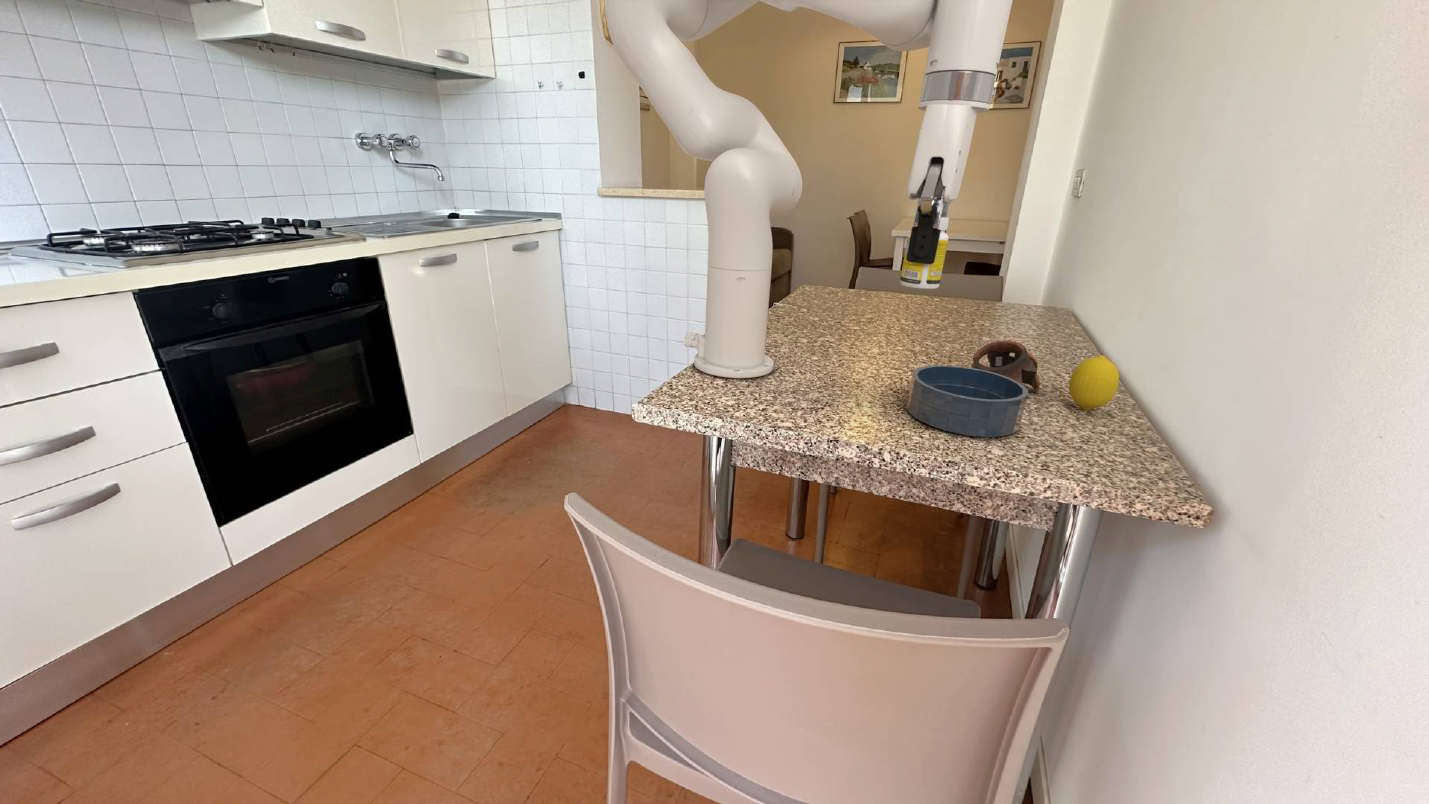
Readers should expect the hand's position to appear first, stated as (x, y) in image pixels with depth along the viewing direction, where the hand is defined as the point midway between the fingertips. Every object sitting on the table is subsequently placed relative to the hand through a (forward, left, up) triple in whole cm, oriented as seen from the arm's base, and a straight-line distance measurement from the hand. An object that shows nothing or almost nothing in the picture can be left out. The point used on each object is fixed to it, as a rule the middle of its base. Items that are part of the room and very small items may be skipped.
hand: (923, 258), depth 71 cm
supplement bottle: (0, 0, -4) cm, 4 cm away
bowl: (+8, 0, -19) cm, 21 cm away
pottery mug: (+12, +17, -20) cm, 29 cm away
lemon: (+23, +13, -20) cm, 33 cm away
